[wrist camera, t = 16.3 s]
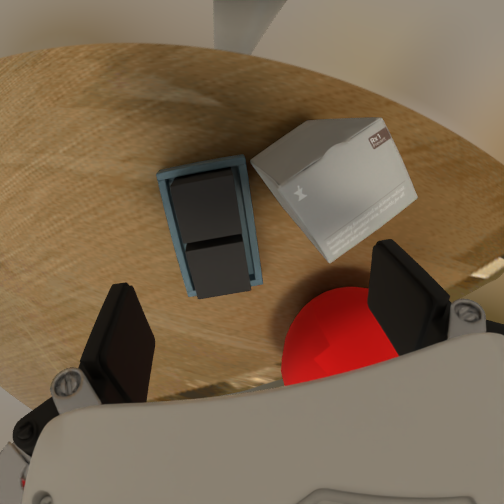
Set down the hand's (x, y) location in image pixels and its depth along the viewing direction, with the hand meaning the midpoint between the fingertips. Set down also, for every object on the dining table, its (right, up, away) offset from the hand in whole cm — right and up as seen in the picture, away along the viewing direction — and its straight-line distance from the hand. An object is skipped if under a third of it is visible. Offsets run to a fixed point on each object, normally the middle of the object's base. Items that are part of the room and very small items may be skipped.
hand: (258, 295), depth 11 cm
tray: (-5, +5, +23) cm, 23 cm away
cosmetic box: (+4, +12, +20) cm, 24 cm away
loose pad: (-5, +7, +21) cm, 22 cm away
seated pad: (-4, +1, +24) cm, 24 cm away
